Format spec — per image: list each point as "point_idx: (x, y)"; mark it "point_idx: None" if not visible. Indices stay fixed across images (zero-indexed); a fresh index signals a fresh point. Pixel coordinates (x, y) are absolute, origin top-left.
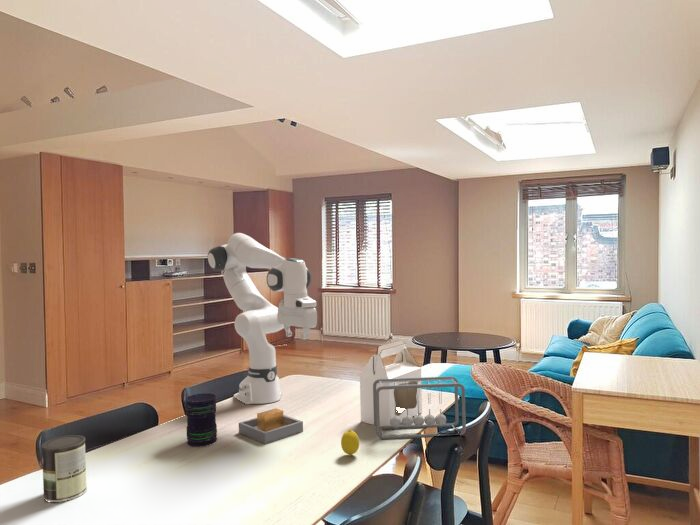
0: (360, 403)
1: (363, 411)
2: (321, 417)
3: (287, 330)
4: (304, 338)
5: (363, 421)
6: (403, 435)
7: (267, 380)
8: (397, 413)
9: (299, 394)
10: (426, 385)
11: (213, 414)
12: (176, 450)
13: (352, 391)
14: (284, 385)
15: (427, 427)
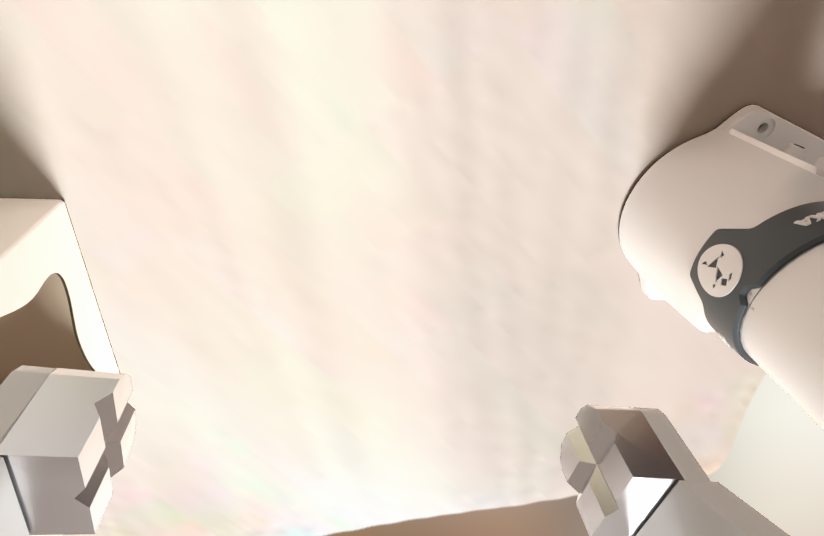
0: (16, 245)
1: (13, 223)
2: (269, 149)
3: (695, 528)
4: (16, 388)
5: (42, 199)
6: None
7: (720, 235)
8: (35, 350)
9: (577, 332)
10: None
11: None
12: None
13: (406, 445)
14: (699, 379)
15: None
